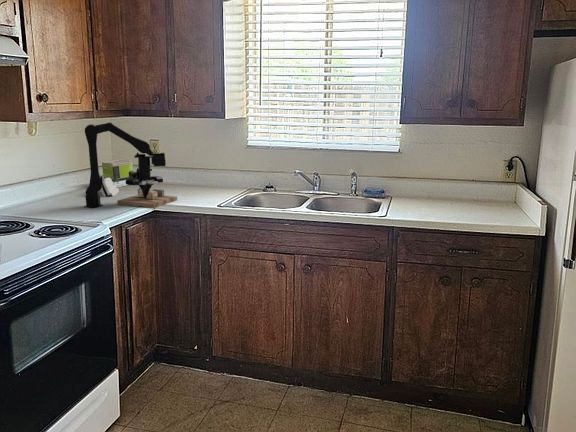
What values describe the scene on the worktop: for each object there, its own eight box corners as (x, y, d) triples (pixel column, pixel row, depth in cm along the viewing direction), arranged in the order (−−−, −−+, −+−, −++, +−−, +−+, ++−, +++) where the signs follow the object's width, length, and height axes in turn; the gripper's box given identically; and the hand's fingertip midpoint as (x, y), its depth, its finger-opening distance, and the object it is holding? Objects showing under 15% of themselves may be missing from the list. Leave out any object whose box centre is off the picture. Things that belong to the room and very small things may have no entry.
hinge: (113, 196, 289) (105, 179, 286) (104, 199, 289) (96, 182, 286) (119, 190, 305) (111, 174, 303) (111, 193, 305) (103, 177, 302)
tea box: (124, 182, 331) (122, 158, 327) (135, 184, 325) (133, 160, 322) (103, 186, 319) (101, 161, 315) (114, 188, 313) (112, 163, 310)
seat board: (154, 208, 261) (153, 196, 260) (117, 204, 269) (116, 193, 268) (177, 200, 279) (176, 189, 278) (142, 197, 287) (141, 186, 286)
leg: (137, 196, 278) (137, 188, 277) (142, 195, 280) (142, 187, 279) (152, 199, 269) (152, 191, 268) (157, 198, 272) (157, 190, 271)
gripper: (149, 164, 280) (150, 193, 283) (118, 166, 266) (119, 197, 269) (163, 165, 273) (164, 196, 276) (131, 168, 259) (133, 200, 262)
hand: (145, 197), depth 271 cm, fingers closed
